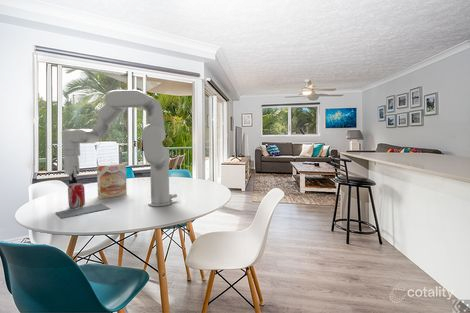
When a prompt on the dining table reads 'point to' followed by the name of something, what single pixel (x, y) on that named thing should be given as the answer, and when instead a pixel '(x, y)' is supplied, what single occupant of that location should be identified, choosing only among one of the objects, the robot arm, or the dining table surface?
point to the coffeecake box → (111, 180)
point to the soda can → (76, 195)
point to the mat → (81, 211)
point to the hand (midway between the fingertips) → (73, 187)
